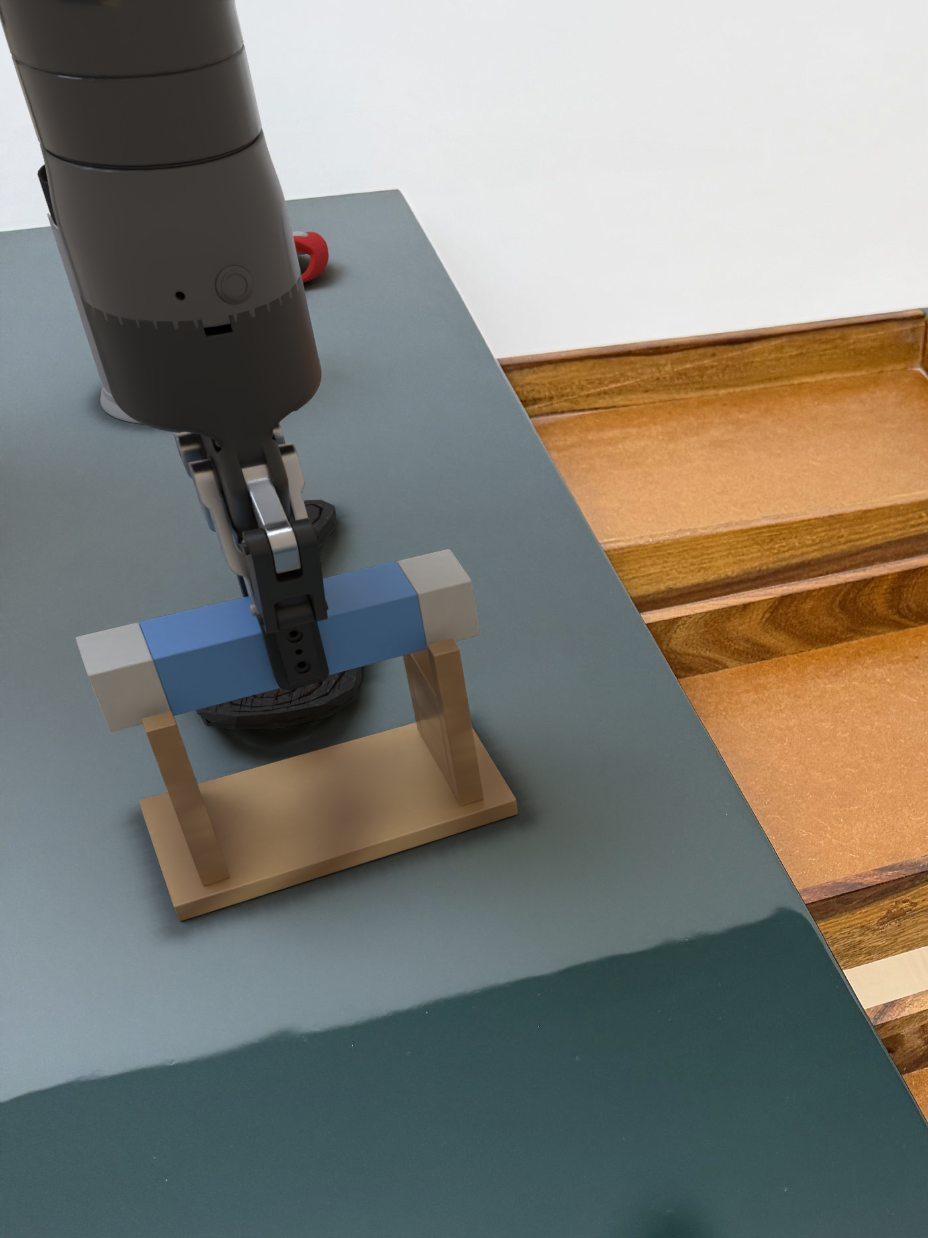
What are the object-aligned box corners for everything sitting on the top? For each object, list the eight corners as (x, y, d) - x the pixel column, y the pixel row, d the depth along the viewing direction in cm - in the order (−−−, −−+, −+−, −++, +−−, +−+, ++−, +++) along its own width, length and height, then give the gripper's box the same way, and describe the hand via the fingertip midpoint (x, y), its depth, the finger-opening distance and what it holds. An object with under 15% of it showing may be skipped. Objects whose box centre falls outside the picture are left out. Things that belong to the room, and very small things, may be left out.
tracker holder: (225, 231, 117) (335, 212, 115) (245, 287, 119) (352, 269, 117) (144, 250, 107) (263, 229, 105) (167, 311, 109) (283, 291, 107)
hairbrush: (376, 467, 88) (339, 695, 69) (386, 521, 90) (353, 755, 71) (235, 472, 86) (160, 707, 68) (250, 527, 89) (181, 767, 70)
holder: (179, 922, 63) (112, 751, 56) (143, 815, 68) (77, 646, 61) (518, 814, 70) (495, 649, 63) (464, 723, 74) (436, 561, 68)
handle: (110, 733, 59) (87, 675, 56) (97, 694, 60) (74, 636, 58) (480, 635, 65) (472, 580, 63) (458, 602, 67) (449, 548, 65)
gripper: (44, 216, 53) (170, 600, 65) (114, 367, 45) (244, 777, 57) (248, 190, 56) (333, 562, 68) (350, 328, 48) (426, 725, 60)
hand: (292, 658), depth 62 cm, fingers closed on handle, 3 cm apart
